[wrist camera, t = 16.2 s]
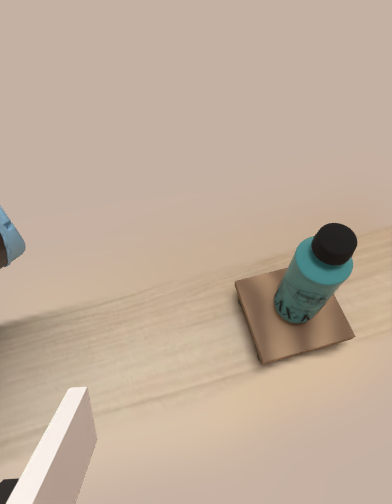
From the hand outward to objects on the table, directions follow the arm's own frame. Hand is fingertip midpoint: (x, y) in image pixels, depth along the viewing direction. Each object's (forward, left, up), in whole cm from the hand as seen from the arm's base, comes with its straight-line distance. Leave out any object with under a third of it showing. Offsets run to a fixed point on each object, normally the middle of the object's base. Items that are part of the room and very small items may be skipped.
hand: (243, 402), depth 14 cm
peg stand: (+8, +18, -38) cm, 42 cm away
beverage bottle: (+8, +18, -32) cm, 38 cm away
